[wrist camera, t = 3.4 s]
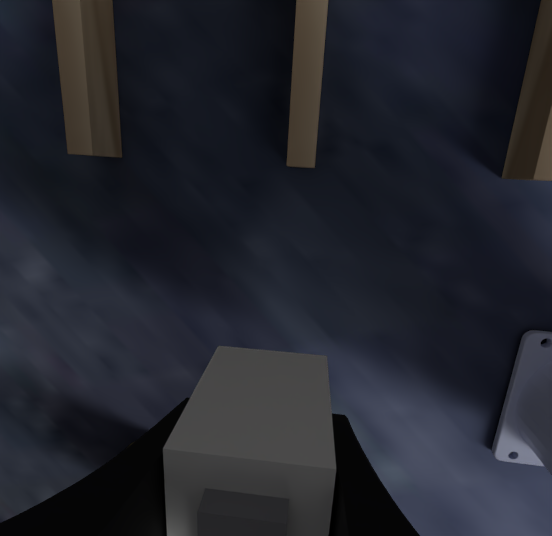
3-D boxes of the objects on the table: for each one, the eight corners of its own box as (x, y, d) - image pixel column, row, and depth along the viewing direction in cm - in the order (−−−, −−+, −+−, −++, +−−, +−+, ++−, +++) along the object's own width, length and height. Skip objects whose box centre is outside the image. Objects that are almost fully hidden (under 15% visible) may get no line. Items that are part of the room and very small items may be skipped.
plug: (326, 356, 13) (338, 493, 7) (317, 447, 14) (322, 625, 8) (218, 345, 13) (151, 470, 7) (217, 435, 14) (158, 600, 9)
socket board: (593, -90, 14) (693, -184, 10) (528, 179, 16) (587, 181, 13) (81, -84, 15) (11, -161, 12) (100, 156, 18) (48, 152, 15)
